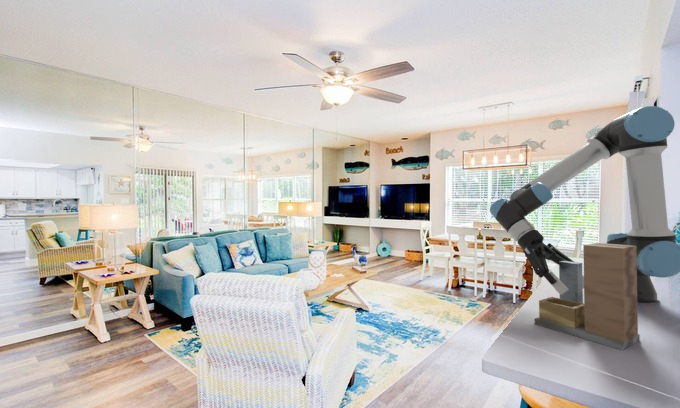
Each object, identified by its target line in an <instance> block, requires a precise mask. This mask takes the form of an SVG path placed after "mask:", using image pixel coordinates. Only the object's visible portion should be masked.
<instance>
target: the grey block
mask: <svg viewBox="0 0 680 408" xmlns="http://www.w3.org/2000/svg"><path fill="white" fill-rule="evenodd" d="M558 273H559V274H558V275H559V277H558V278H559V279H560V281H561V282H562V283H563V284H564V285H565V286H566V287H567V288H568V289H569V290H568V291H566V292H565V293H564V294H562V295H560V294H559V298H560V299H564V300H569V301H573V302H578V303H583V304H584V289H583V284H582V275H583V262H578V261H574V262H570V261H560V262H559V265H558Z"/></svg>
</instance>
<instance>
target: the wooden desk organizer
mask: <svg viewBox="0 0 680 408" xmlns="http://www.w3.org/2000/svg"><path fill="white" fill-rule="evenodd" d="M582 249H583V276H584V289H583V303H578V302H573V301H569V300H564V299H560V297H555V296H549V297H547V298H544V299H539V300H538V311H539V312H538V313H539V314H538V315H539V316H538V317H536V318H534V324H535V325H538V326H540V327H544V328H546V329H551V330H554V331H557V332H561V333H565V334H567V335H570V336H574V337H578V338H581V339H583V340H588V341H589V342H590V341H591V342H593V343H598V344H601V345H604V346H607V347H611V348H615V349H617V350H621V351H624V350H625V349H627V348H629V347H631V346H632V345H634V344H636V343H639V342H640V341H641V339H640V336H641V335H640V334H639V327H638V326H639V323H638V321H639V320H638V319H639V317H638V316H639V315H638V312H639V311H638V302H637V251H636V246H632V245H619V244H607V242H606V243H603V242H594V243H587V244H583V248H582Z"/></svg>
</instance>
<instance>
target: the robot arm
mask: <svg viewBox="0 0 680 408" xmlns="http://www.w3.org/2000/svg"><path fill="white" fill-rule="evenodd" d="M674 130H675V118H674V117H673V115H672V114H671V113H670V112H669V110H666V109H665V108H662V107H660V106H657V105H647V106H642V107H639V108H635V109H633V110H631V111H629V112H627V113H625V114H623V115H622V116H619V117H617V118H615V119H613V120H611V121H610V122H609V123H608V124H606V125H605V126H604V127H603V128H601V129H600V130H599V131H598V132H597V133H595V134H594V135H592V136H591V137H589V138H588V139H587V141H586V144H584V145H583V146H580V148H578V149H577V150H575V151H574V152H572V153H570V155H568V156H566V157H565V158H563V159H562V160H560V161H559V162H558V163H556V164H554V165H553V166H552V167H550V168H549V169H547V170H546V171H544V172H543V173H542V174H539V175H538V176H537V177H535V178H534V179H532V180H531V181H530V182H528V183H527V184H525V185H524V186H522V187H521V188H519V189H516V190H515V191H513V192H511V194H510V196H509V199H507V198H505V197H502V198H500V199H497V200H495V201H494V202H493V203H492V204H491V205H490V207H489V212H490V214H491V215H492V216H493V217H494V219H495V221H497V223H498V224H499V225H500V226H501V227H502V228H503V229H504V231H506V232H507V233H508V234H509V236H510V238H511V239H513V240H514V241H515V242H517V245H519V247H520V248H521V249H522V252H523V253H524V254H525V256H526V258H527V260H528V262H529V263H530V265H531V268H532V270H533V271H534V273H535V275H536V276H538V277H539V278H540V279H542V278H543V277H544V278H545V279H546V280H547V282H548V283H549V284H550V285H551V286H552V287H553V289H554V290H555V291H556V292H557V294H559V296H560V295H562V294H564V293H565V292H566V291H568V290H569V289H568V288H567V287H566V286H565V285H564V284H563V283H562V282H561V281H560V279H559V277H558V276H557V275H556V274H555V273H554V272H553V271H552V270H551V271H550V269H549V266H548V263H547V261H551V262H553V263H555V264H556V265H558V266H559V262H560V261H570V262H575V261H574V260H573V259H571V258H570V257H568V256H567V255H565V254H564V253H563V252H562V251H560V250H559V249H558V248H556V247H555V246H554V245H553V244H552V243H550V242H549V243H547V245H546V244H545V242H543V241H544V239H545V237H544V236H543V234H541V233H540V231H539V230H538V229H536V228H535V226H534V225H533V224H532V223H531V222H530V221H529V220H528V219H526V217H527V216H528V215H530V214H531V213H533V212H534V211H536V210H538V209H539V208H540V207H542V206H545V205H546V204H547V203H549V201H551V200H552V199H553V193H552V192H554V191H555V190H557V189H558V188H560V187H561V186H563V185H564V184H566V183H568V182H569V181H570V180H573V178H575V177H577V176H578V175H580V174H581V173H582V172H584V171H586V170H587V169H589V168H590V167H592V166H594V165H595V164H597V163H598V162H599V161H601V160H608V159H609V158H611V157H613V156H614V155H616V154H619V155H621V156H623V157H624V158H625V165H626V166H625V167H626V176H627V185H628V186H627V187H628V197H629V210H630V220H631V229H630V230H629V231H628V232H613V233H610V234H608V235H607V239H606V244H619V245H632V246H636V251H637V303H638V302H641V303H642V302H643V303H651V302H657V301H658V293H657V290H656V287H655V285H654V284H653V283H654V282H653V281H652V279H651V277H652V278H653V277H655V278H660V279H661V278H662V279H663V278H666V279H667V278H671V277H673V276H676V275H678V274H679V273H680V245H679V244H678V243H677V236H676V235H677V234H676V233H675V232H674V231H672V230H671V229H670V228H669V222H668V213H667V211H668V210H667V203H666V202H667V201H666V192H665V191H666V190H665V181H664V179H665V178H664V170H663V160H662V159H663V158H662V153H663V152H664V151H665V150H666V149H667V148H668V140H667V139H668V137H669V136H670V135H671V133H673V131H674ZM582 284H583V290H584V274H582Z"/></svg>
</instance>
